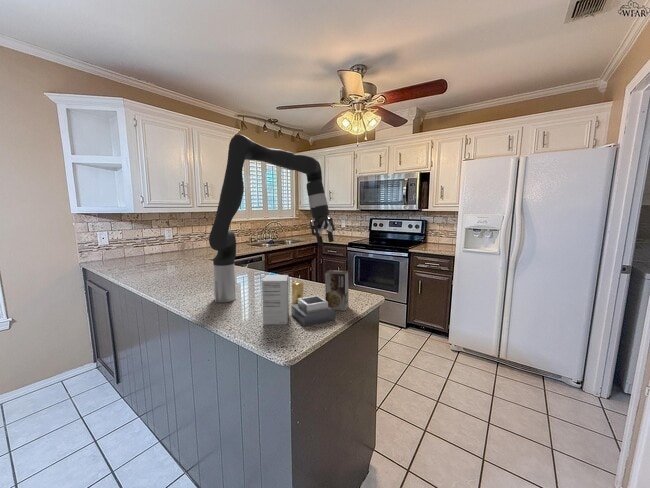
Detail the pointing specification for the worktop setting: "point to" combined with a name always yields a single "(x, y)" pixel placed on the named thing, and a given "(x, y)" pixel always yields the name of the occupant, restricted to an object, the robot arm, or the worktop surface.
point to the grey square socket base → (312, 311)
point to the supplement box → (275, 299)
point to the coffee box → (337, 289)
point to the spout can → (297, 291)
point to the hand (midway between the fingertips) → (326, 243)
